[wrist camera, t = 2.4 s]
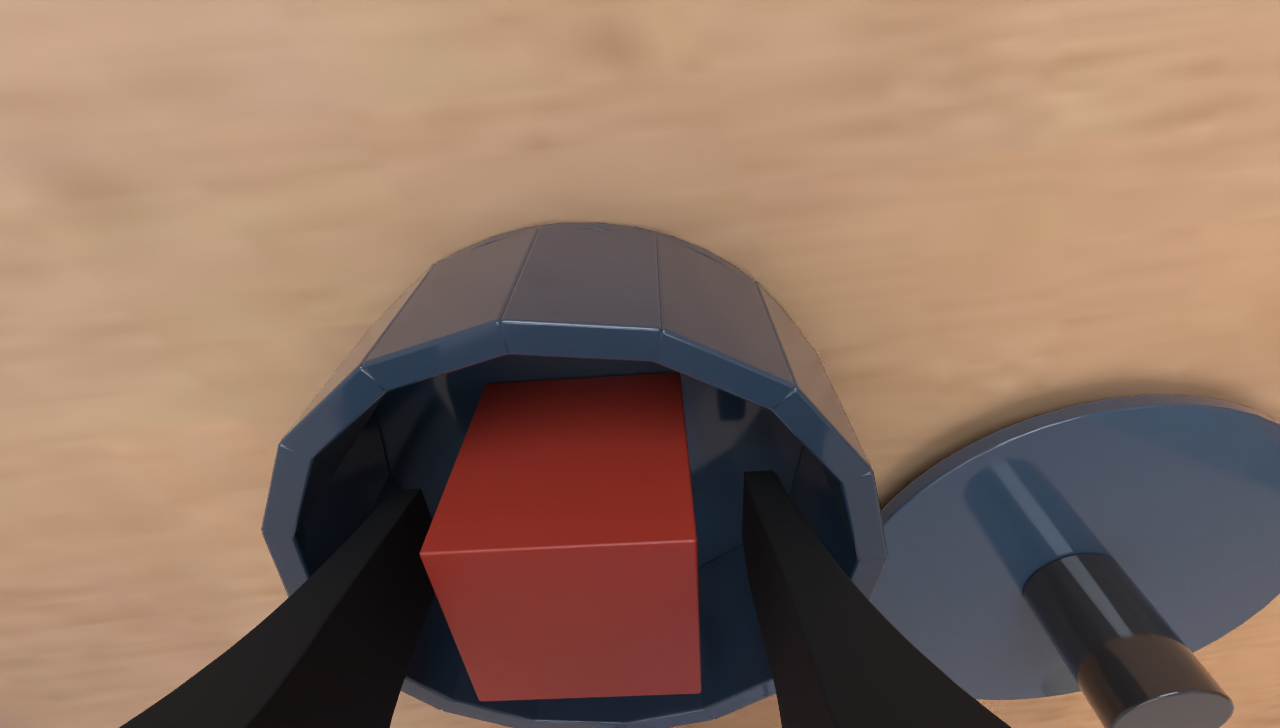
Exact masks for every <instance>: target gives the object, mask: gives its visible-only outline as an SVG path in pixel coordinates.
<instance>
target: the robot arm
mask: <svg viewBox="0 0 1280 728" xmlns="http://www.w3.org/2000/svg"><path fill="white" fill-rule="evenodd" d="M432 520H433V519H432V517H431V514H430V511H429V509H428V506H427V503H426V501H425V498H424V495H423V493H422V490H421V489H401V490H394V491H393V492H392V493H391V494H390V495H389V496H388V497H387V498H386V499H385V500H384V501H383V502H382V503H381V504H380V505H379V506H378V507H377V508H376V510H375V511H374V512H373V513H372V514H371V515H370V516H369V517H368V518H367V519H366V520H365V521H364V522H363V523H362V524H361V526H360V527H359V528H358V529H357V530H356V531H355V532H354V533H353V534H352V535H351V536H350V537H349V538H348V539H347V540H346V541H345V542H344V543H343V544H342V546H341V547H340V548H339V549H338V550H337V551H336V552H335V553H334V554H333V555H332V556H331V557H330V558H329V559H328V560H327V561H326V562H325V563H324V564H323V565H322V566H321V567H320V568H319V569H318V570H317V571H316V572H315V573H314V574H313V575H312V576H311V577H310V578H309V579H308V580H307V581H305V582H304V583H303V584H302V585H301V586H300V587H299V588H298V589H297V590H296V591H295V592H294V593H293V594H292V595H291V596H290V597H289V598H288V599H287V600H286V601H285V602H284V603H283V604H281V605H280V606H279V607H278V608H277V609H276V610H275V611H274V612H273V613H271V614H270V615H269V616H268V617H267V618H266V619H265V620H263V621H262V622H261V623H260V624H259V625H258V626H256V627H255V628H254V629H253V630H252V631H250V632H249V633H248V634H247V635H246V636H244V637H243V638H242V639H241V640H240V641H238V642H237V643H236V644H235V645H233V646H232V647H231V648H230V649H228V650H227V651H226V652H225V653H223V654H222V655H221V656H219V657H218V658H217V659H215V660H214V661H213V662H211V663H210V664H209V665H207V666H206V667H205V668H203V669H202V670H201V671H199V672H198V673H197V674H195V675H194V676H193V677H191V678H190V679H189V680H187V681H186V682H185V683H183V684H182V685H181V686H179V687H178V688H177V689H175V690H174V691H173V692H171V693H170V694H168V695H167V696H165V697H164V698H163V699H161V700H160V701H158V702H157V703H155V704H154V705H152V706H151V707H149V708H148V709H147V710H145V711H144V712H142V713H141V714H139V715H138V716H136V717H135V718H133V719H132V720H130V721H128V722H127V723H125V724H124V725H122V726H121V727H119V728H390V724H391V720H392V716H393V713H394V709H395V706H396V703H397V700H398V697H399V693H400V691H401V688H402V685H403V682H404V679H405V677H406V674H407V671H408V668H409V665H410V663H411V660H412V657H413V654H414V651H415V649H416V646H417V643H418V640H419V637H420V635H421V632H422V629H423V626H424V623H425V620H426V617H427V615H428V612H429V609H430V606H431V603H432V600H433V597H434V594H435V591H434V589H433V587H432V584H431V582H430V579H429V577H428V574H427V572H426V569H425V567H424V565H423V562H422V560H421V557H420V551H421V548H422V546H423V543H424V541H425V538H426V535H427V533H428V530H429V528H430V525H431V523H432ZM742 540H743V547H744V554H745V561H746V568H747V575H748V581H749V585H750V589H751V593H752V597H753V601H754V605H755V609H756V613H757V617H758V621H759V625H760V629H761V633H762V637H763V641H764V645H765V649H766V653H767V657H768V661H769V664H770V668H771V672H772V676H773V680H774V685H775V690H776V695H777V699H778V705H779V711H780V717H781V723H782V728H1011V727H1010V726H1009V725H1007V724H1006V723H1005V722H1003V721H1002V720H1001V719H999V718H998V717H997V716H996V715H994V714H993V713H992V712H990V711H989V710H988V709H987V708H985V707H984V706H983V705H982V704H980V703H979V702H978V701H977V700H976V699H974V698H973V697H972V696H971V695H969V694H968V693H967V692H966V691H965V690H963V689H962V688H961V687H960V686H958V685H957V684H956V683H955V682H954V681H953V680H951V679H950V678H949V677H948V676H947V675H946V674H945V673H944V672H942V671H941V670H940V669H939V668H938V667H937V666H936V665H935V664H934V663H932V662H931V661H930V660H929V659H928V658H927V657H926V656H925V655H923V654H922V653H921V652H920V651H919V650H918V649H917V648H916V647H915V646H913V645H912V644H911V643H910V642H909V641H908V640H907V639H906V638H905V637H904V636H903V635H902V634H901V633H900V632H899V631H898V630H897V629H896V628H895V627H894V626H893V625H892V624H891V623H890V622H889V621H888V620H887V619H886V618H885V617H884V616H883V615H882V614H881V613H880V612H879V611H878V610H877V608H876V607H875V606H874V605H873V604H872V603H871V602H870V601H869V600H868V599H867V598H866V597H865V595H864V594H863V593H862V592H861V591H860V590H859V589H858V588H857V586H856V585H855V584H854V583H853V582H852V581H851V579H850V578H849V577H848V576H847V575H846V573H845V572H844V571H843V570H842V569H841V567H840V566H839V565H838V564H837V562H836V561H835V560H834V559H833V557H832V556H831V555H830V554H829V552H828V551H827V550H826V548H825V547H824V546H823V544H822V543H821V541H820V540H819V539H818V537H817V536H816V535H815V533H814V532H813V531H812V529H811V528H810V526H809V525H808V524H807V522H806V521H805V519H804V518H803V516H802V515H801V513H800V512H799V510H798V509H797V507H796V506H795V504H794V503H793V501H792V500H791V498H790V496H789V495H788V493H787V491H786V490H785V488H784V486H783V485H782V483H781V481H780V479H779V477H778V475H777V474H776V473H775V472H774V471H772V470H768V471H748V472H744V488H743V519H742Z"/></svg>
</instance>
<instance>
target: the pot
mask: <svg viewBox="0 0 1280 728" xmlns="http://www.w3.org/2000/svg"><path fill="white" fill-rule="evenodd" d="M672 372H679V373H680V375H681V384H682V394H683V404H684V414H685V424H686V434H687V444H688V454H689V464H690V474H691V484H692V494H693V504H694V514H695V524H696V534H697V550H698V585H699V620H700V655H701V693H697V694H669V695H642V696H615V697H588V698H560V699H533V700H506V701H479V699H478V697H477V694H476V692H475V689H474V687H473V684H472V682H471V680H470V677H469V675H468V672H467V670H466V667H465V665H464V662H463V660H462V657H461V655H460V653H459V650H458V648H457V645H456V643H455V640H454V638H453V635H452V633H451V631H450V628H449V626H448V623H447V621H446V618H445V616H444V613H443V611H442V609H441V606H440V604H439V601H438V599H437V596H436V594H434V597H433V600H432V603H431V606H430V609H429V612H428V615H427V617H426V620H425V623H424V626H423V629H422V632H421V635H420V637H419V640H418V643H417V646H416V649H415V651H414V654H413V657H412V660H411V663H410V665H409V668H408V671H407V674H406V677H405V679H404V682H403V685H402V688H401V691H402V692H404V693H406V694H408V695H410V696H413V697H415V698H417V699H419V700H421V701H423V702H425V703H427V704H429V705H431V706H433V707H435V708H437V709H439V710H443V711H445V712H449V713H453V714H458V715H462V716H466V717H470V718H475V719H479V720H483V721H487V722H492V723H496V724H500V725H504V726H508V727H513V728H669V727H674V726H680V725H686V724H692V723H697V722H703V721H709V720H713V719H717V718H720V717H722V716H724V715H727V714H729V713H731V712H734V711H736V710H738V709H741V708H743V707H745V706H748V705H750V704H752V703H754V702H757V701H759V700H761V699H764V698H766V697H768V696H771V695H773V694H775V693H776V690H775V685H774V680H773V676H772V672H771V668H770V664H769V661H768V657H767V653H766V649H765V645H764V641H763V637H762V633H761V629H760V625H759V621H758V617H757V613H756V609H755V605H754V601H753V597H752V593H751V589H750V585H749V581H748V575H747V568H746V561H745V554H744V547H743V540H742V519H743V488H744V472H748V471H768V470H772V471H774V472H775V473H776V474H777V475H778V477H779V479H780V481H781V483H782V485H783V486H784V488H785V490H786V491H787V493H788V495H789V496H790V498H791V500H792V501H793V503H794V504H795V506H796V507H797V509H798V510H799V512H800V513H801V515H802V516H803V518H804V519H805V521H806V522H807V524H808V525H809V526H810V528H811V529H812V531H813V532H814V533H815V535H816V536H817V537H818V539H819V540H820V541H821V543H822V544H823V546H824V547H825V548H826V550H827V551H828V552H829V554H830V555H831V556H832V557H833V559H834V560H835V561H836V562H837V564H838V565H839V566H840V567H841V569H842V570H843V571H844V572H845V573H846V575H847V576H848V577H849V578H850V579H851V581H852V582H853V583H854V584H855V585H856V586H857V588H858V589H859V590H860V591H861V592H862V593H863V594H864V595H865V597H866V598H867V599H868V600H869V601H870V599H871V597H872V594H873V592H874V590H875V587H876V585H877V583H878V580H879V578H880V576H881V573H882V571H883V569H884V566H885V564H886V562H887V556H888V550H887V544H886V539H885V533H884V528H883V522H882V517H881V511H880V505H879V500H878V494H877V489H876V483H875V477H874V472H873V470H872V468H871V465H870V463H869V461H868V459H867V457H866V455H865V453H864V451H863V449H862V447H861V445H860V442H859V440H858V438H857V436H856V434H855V432H854V430H853V428H852V426H851V424H850V422H849V419H848V417H847V415H846V413H845V411H844V409H843V407H842V405H841V403H840V401H839V398H838V396H837V394H836V392H835V390H834V388H833V386H832V384H831V382H830V380H829V378H828V375H827V373H826V371H825V369H824V367H823V365H822V363H821V361H820V359H819V357H818V354H817V353H816V350H815V349H814V348H813V346H812V345H811V344H810V343H809V342H808V341H807V339H806V338H805V337H804V336H803V335H802V333H801V332H800V330H799V329H798V327H797V326H796V325H795V323H794V322H793V321H792V319H791V318H790V316H789V315H788V314H787V312H786V311H785V309H784V308H783V307H782V306H781V305H780V304H779V303H778V302H777V301H776V300H775V299H774V298H773V297H772V296H771V295H770V294H769V293H768V292H767V291H766V290H765V289H764V288H763V287H762V286H761V285H760V284H759V283H758V282H756V281H755V280H754V279H753V278H750V277H749V276H748V275H746V274H745V273H744V272H743V271H741V270H740V269H739V268H737V267H736V266H734V265H732V264H731V263H729V262H727V261H725V260H723V259H722V258H720V257H718V256H716V255H715V254H713V253H711V252H709V251H707V250H706V249H703V248H701V247H698V246H696V245H693V244H690V243H688V242H685V241H683V240H680V239H678V238H675V237H673V236H669V235H665V234H661V233H657V232H653V231H649V230H646V229H642V228H638V227H631V226H623V225H614V224H606V223H557V224H550V225H542V226H535V227H527V228H523V229H519V230H515V231H512V232H508V233H504V234H501V235H497V236H493V237H490V238H488V239H485V240H483V241H481V242H478V243H476V244H474V245H471V246H469V247H467V248H464V249H462V250H460V251H458V252H456V253H455V254H453V255H451V256H450V257H448V258H446V259H443V260H441V261H438V262H437V263H436V264H433V265H432V266H431V267H430V268H429V269H428V270H427V271H426V272H425V273H424V274H423V275H422V276H421V277H420V278H419V279H418V280H416V281H415V282H414V283H413V284H412V285H410V286H409V287H408V288H407V289H406V290H405V292H404V293H403V294H402V295H401V296H400V297H399V299H398V300H397V301H396V302H395V303H394V304H393V305H392V306H391V307H390V308H389V309H388V310H387V311H386V312H385V313H384V314H383V315H382V316H381V317H380V318H379V319H378V320H377V321H376V322H375V323H374V324H373V325H372V326H371V327H370V328H369V330H368V331H367V332H366V333H365V335H364V336H363V337H362V338H361V340H360V341H359V342H358V343H357V345H356V346H355V347H354V348H353V350H352V351H351V352H350V353H349V355H348V356H347V357H346V358H345V360H344V361H343V362H342V364H341V365H340V366H339V367H338V369H337V370H336V371H335V372H334V374H333V375H332V376H331V377H330V379H329V380H328V381H327V382H326V384H325V385H324V386H323V387H322V389H321V390H320V391H319V393H318V394H317V395H316V396H315V398H314V399H313V400H312V401H311V403H310V404H309V405H308V406H307V408H306V409H305V410H304V411H303V413H302V414H301V415H300V416H299V418H298V419H297V420H296V422H295V423H294V424H293V425H292V427H291V428H290V429H289V430H288V432H287V433H286V434H285V435H284V437H283V438H282V440H281V442H280V443H279V444H278V449H277V454H276V459H275V464H274V469H273V474H272V479H271V484H270V488H269V493H268V498H267V503H266V508H265V513H264V518H263V523H262V529H261V530H262V531H263V533H262V534H263V537H264V539H265V541H266V544H267V546H268V549H269V551H270V553H271V556H272V558H273V561H274V563H275V565H276V568H277V570H278V573H279V575H280V577H281V580H282V582H283V585H284V587H285V590H286V592H287V594H288V597H290V596H291V595H292V594H293V593H294V592H295V591H296V590H297V589H298V588H299V587H300V586H301V585H302V584H303V583H304V582H305V581H307V580H308V579H309V578H310V577H311V576H312V575H313V574H314V573H315V572H316V571H317V570H318V569H319V568H320V567H321V566H322V565H323V564H324V563H325V562H326V561H327V560H328V559H329V558H330V557H331V556H332V555H333V554H334V553H335V552H336V551H337V550H338V549H339V548H340V547H341V546H342V544H343V543H344V542H345V541H346V540H347V539H348V538H349V537H350V536H351V535H352V534H353V533H354V532H355V531H356V530H357V529H358V528H359V527H360V526H361V524H362V523H363V522H364V521H365V520H366V519H367V518H368V517H369V516H370V515H371V514H372V513H373V512H374V511H375V510H376V508H377V507H378V506H379V505H380V504H381V503H382V502H383V501H384V500H385V499H386V498H387V497H388V496H389V495H390V494H391V493H392V492H393V491H394V490H401V489H421V490H422V493H423V495H424V498H425V501H426V503H427V506H428V509H429V511H430V514H431V517H432V519H433V518H434V515H435V512H436V510H437V507H438V505H439V502H440V500H441V497H442V495H443V492H444V489H445V487H446V484H447V482H448V479H449V477H450V474H451V472H452V469H453V466H454V464H455V461H456V459H457V456H458V454H459V451H460V448H461V446H462V443H463V441H464V438H465V436H466V433H467V431H468V428H469V425H470V423H471V420H472V418H473V415H474V413H475V410H476V408H477V405H478V402H479V400H480V397H481V395H482V392H483V390H484V387H485V384H487V383H502V382H519V381H536V380H553V379H570V378H587V377H604V376H621V375H638V374H655V373H672Z"/></svg>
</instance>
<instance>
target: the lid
mask: <svg viewBox="0 0 1280 728" xmlns="http://www.w3.org/2000/svg"><path fill="white" fill-rule="evenodd" d="M881 517H882V522H883V528H884V533H885V539H886V544H887V550H888V556H887V562H886V564H885V566H884V569H883V571H882V573H881V576H880V578H879V580H878V583H877V585H876V587H875V590H874V592H873V594H872V597H871V599H870V602H871V603H872V604H873V605H874V606H875V607H876V608H877V610H878V611H879V612H880V613H881V614H882V615H883V616H884V617H885V618H886V619H887V620H888V621H889V622H890V623H891V624H892V625H893V626H894V627H895V628H896V629H897V630H898V631H899V632H900V633H901V634H902V635H903V636H904V637H905V638H906V639H907V640H908V641H909V642H910V643H911V644H912V645H913V646H915V647H916V648H917V649H918V650H919V651H920V652H921V653H922V654H923V655H925V656H926V657H927V658H928V659H929V660H930V661H931V662H932V663H934V664H935V665H936V666H937V667H938V668H939V669H940V670H941V671H942V672H944V673H945V674H946V675H947V676H948V677H949V678H950V679H951V680H953V681H954V682H955V683H956V684H957V685H958V686H960V687H961V688H962V689H963V690H965V691H966V692H967V693H968V694H969V695H971V696H972V697H973V698H974V699H984V700H1015V699H1029V698H1040V697H1048V696H1056V695H1063V694H1068V693H1073V692H1078V691H1082V692H1083V694H1084V696H1085V697H1086V699H1087V700H1088V702H1089V704H1090V705H1091V707H1092V708H1093V710H1094V712H1095V713H1096V715H1097V716H1098V718H1099V720H1100V721H1101V723H1102V724H1103V726H1104V728H1219V727H1220V726H1222V725H1223V724H1224V723H1225V722H1226V721H1227V720H1228V719H1229V718H1230V717H1231V715H1232V713H1233V710H1234V705H1233V702H1232V700H1231V699H1230V697H1229V696H1228V695H1227V694H1226V693H1225V691H1224V690H1223V689H1222V688H1221V687H1220V685H1219V684H1218V683H1217V682H1216V681H1215V679H1214V678H1213V677H1212V676H1211V674H1210V673H1209V672H1208V671H1207V670H1206V668H1205V667H1204V666H1203V665H1202V664H1201V662H1200V661H1199V660H1198V659H1197V658H1196V656H1195V655H1194V654H1193V652H1195V651H1197V650H1199V649H1201V648H1203V647H1204V646H1206V645H1208V644H1210V643H1212V642H1214V641H1216V640H1218V639H1219V638H1221V637H1222V636H1224V635H1226V634H1227V633H1229V632H1230V631H1232V630H1233V629H1235V628H1237V627H1238V626H1240V625H1241V624H1243V623H1244V622H1245V621H1247V620H1248V619H1249V618H1251V617H1252V616H1253V615H1255V614H1256V613H1258V612H1259V611H1260V610H1262V609H1263V608H1264V607H1265V606H1266V605H1267V604H1269V603H1270V602H1271V601H1272V600H1273V599H1274V598H1275V597H1276V596H1278V595H1279V594H1280V423H1279V422H1277V421H1276V420H1274V419H1273V418H1271V417H1270V416H1268V415H1265V414H1263V413H1261V412H1258V411H1256V410H1254V409H1251V408H1249V407H1246V406H1244V405H1240V404H1236V403H1232V402H1228V401H1224V400H1220V399H1215V398H1209V397H1200V396H1191V395H1181V394H1159V395H1136V396H1127V397H1117V398H1108V399H1103V400H1098V401H1093V402H1088V403H1083V404H1078V405H1073V406H1069V407H1065V408H1062V409H1058V410H1055V411H1051V412H1048V413H1045V414H1041V415H1038V416H1034V417H1032V418H1029V419H1026V420H1024V421H1021V422H1019V423H1016V424H1013V425H1011V426H1008V427H1005V428H1003V429H1000V430H998V431H996V432H994V433H992V434H990V435H988V436H985V437H983V438H981V439H979V440H977V441H975V442H973V443H971V444H969V445H967V446H965V447H963V448H962V449H960V450H958V451H957V452H955V453H953V454H952V455H950V456H948V457H947V458H945V459H943V460H942V461H940V462H938V463H936V464H935V465H934V466H932V467H931V468H930V469H928V470H927V471H926V472H924V473H923V474H921V475H920V476H919V477H917V478H916V479H915V480H913V481H912V482H910V483H909V484H908V485H907V486H906V487H905V488H904V489H903V490H902V491H900V492H899V493H898V494H897V495H896V496H895V497H894V498H893V499H892V500H890V501H889V502H888V503H887V505H886V506H885V507H884V508H883V509H882V510H881Z"/></svg>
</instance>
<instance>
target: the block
mask: <svg viewBox="0 0 1280 728" xmlns="http://www.w3.org/2000/svg"><path fill="white" fill-rule="evenodd" d="M420 557H421V560H422V562H423V565H424V567H425V569H426V572H427V574H428V577H429V579H430V582H431V584H432V587H433V589H434V591H435V594H436V596H437V599H438V601H439V604H440V606H441V609H442V611H443V613H444V616H445V618H446V621H447V623H448V626H449V628H450V631H451V633H452V635H453V638H454V640H455V643H456V645H457V648H458V650H459V653H460V655H461V657H462V660H463V662H464V665H465V667H466V670H467V672H468V675H469V677H470V680H471V682H472V684H473V687H474V689H475V692H476V694H477V697H478V699H479V701H506V700H533V699H560V698H588V697H615V696H642V695H669V694H697V693H701V655H700V620H699V585H698V550H697V534H696V524H695V514H694V504H693V494H692V484H691V474H690V464H689V454H688V444H687V434H686V424H685V414H684V404H683V394H682V384H681V375H680V373H679V372H672V373H655V374H638V375H621V376H604V377H587V378H570V379H553V380H536V381H519V382H502V383H487V384H485V387H484V390H483V392H482V395H481V397H480V400H479V402H478V405H477V408H476V410H475V413H474V415H473V418H472V420H471V423H470V425H469V428H468V431H467V433H466V436H465V438H464V441H463V443H462V446H461V448H460V451H459V454H458V456H457V459H456V461H455V464H454V466H453V469H452V472H451V474H450V477H449V479H448V482H447V484H446V487H445V489H444V492H443V495H442V497H441V500H440V502H439V505H438V507H437V510H436V512H435V515H434V518H433V520H432V523H431V525H430V528H429V530H428V533H427V535H426V538H425V541H424V543H423V546H422V548H421V551H420Z"/></svg>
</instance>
